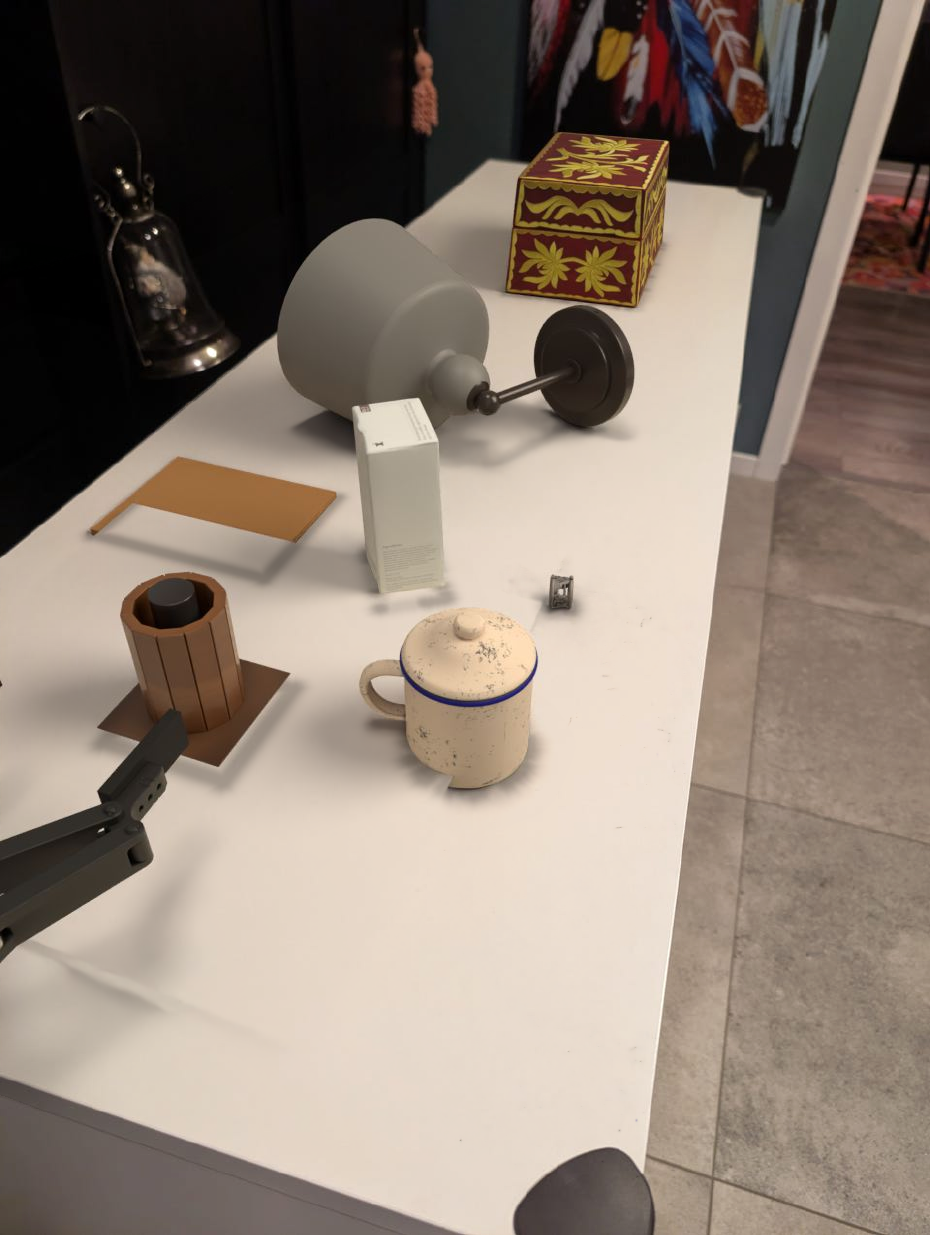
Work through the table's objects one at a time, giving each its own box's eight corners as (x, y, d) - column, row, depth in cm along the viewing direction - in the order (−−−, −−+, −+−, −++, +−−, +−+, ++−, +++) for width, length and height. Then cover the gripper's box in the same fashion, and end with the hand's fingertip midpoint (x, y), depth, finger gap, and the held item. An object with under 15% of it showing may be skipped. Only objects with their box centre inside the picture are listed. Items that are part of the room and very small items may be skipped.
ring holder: (100, 742, 68) (58, 618, 61) (180, 654, 76) (151, 534, 68) (222, 781, 66) (193, 657, 58) (293, 687, 73) (275, 565, 65)
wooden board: (91, 534, 88) (89, 528, 88) (178, 461, 98) (177, 456, 98) (263, 578, 83) (262, 572, 83) (336, 496, 93) (336, 491, 93)
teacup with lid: (534, 704, 72) (543, 580, 64) (527, 799, 65) (537, 673, 57) (375, 691, 72) (366, 568, 65) (352, 784, 66) (339, 658, 58)
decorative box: (546, 230, 154) (552, 128, 144) (662, 242, 150) (677, 138, 141) (504, 292, 134) (508, 178, 124) (637, 308, 130) (652, 191, 120)
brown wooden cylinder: (128, 718, 68) (98, 621, 62) (183, 658, 73) (160, 563, 67) (211, 744, 66) (188, 646, 60) (261, 681, 71) (244, 585, 65)
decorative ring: (570, 616, 80) (573, 587, 78) (548, 614, 80) (550, 586, 78) (571, 595, 82) (574, 567, 80) (548, 593, 82) (551, 565, 80)
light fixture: (276, 233, 89) (478, 360, 77) (467, 197, 104) (661, 298, 92) (271, 422, 103) (442, 555, 91) (441, 366, 118) (607, 474, 106)
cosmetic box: (446, 598, 81) (445, 443, 72) (376, 609, 80) (365, 452, 71) (426, 542, 87) (423, 393, 78) (361, 551, 86) (349, 400, 77)
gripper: (-384, 965, 48) (-61, 688, 63) (22, 1160, 41) (274, 797, 56) (-478, 874, 43) (-103, 598, 58) (-35, 1079, 36) (257, 705, 51)
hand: (82, 695), depth 57 cm, fingers open, 13 cm apart
